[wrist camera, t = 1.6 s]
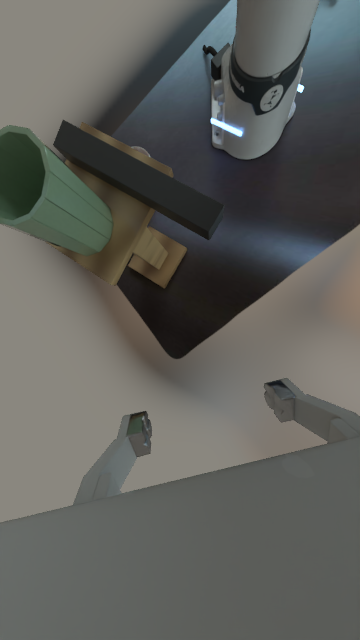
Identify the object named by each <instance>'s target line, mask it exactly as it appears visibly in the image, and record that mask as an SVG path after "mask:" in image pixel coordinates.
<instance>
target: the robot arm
mask: <svg viewBox="0 0 360 640" xmlns="http://www.w3.org/2000/svg"><path fill="white" fill-rule="evenodd" d="M319 2H320V0H237V18H236V34H235V37H234V41H233V44H232V45H231V46H230V44H229V43H227V44H226V45H225V46H224V47H223V48H222V49H221V50H220V51H219V52H218V53H217V52H216V50H215V49H214V48H213V47H211V46H208V47H207V48H206V46H205V45H204V46H203V51H204V53H205V54H206V55H207V54H208V53H211V54H212V55H213V56H214V57H213V58H212V59H211V76H212V78H213V79H212V81H211V116H212V118H211V123H212V145H213V146H214V147H215V148H218V149H223V150H225V151H226V152H228V153H229V154H230V155H232V156H233V157H236V158H239V159H253V158H257V157H259V156H261V155H263V154H265V153H266V152H268V151H269V150H270V149H271V148H272V147H273V146H274V145H275V144H276V143H277V141H278V140H279V138H280V136H281V134H282V131H283V129H284V127H285V125H286V123H287V122H288V121H289V120H290V119H291V117H292V116H293V114H294V112H295V109H296V105H295V103H294V99H295V95H296V92H297V91H299V92H302V91H303V88H304V86H302V85H300V84H299V83H300V79H301V76H302V72H303V68H302V67H301V64H302V62H303V59H304V56H305V53H306V50H307V45H308V42H309V38H310V31H311V25H312V23H313V20H314V17H315V14H316V11H317V8H318V5H319ZM216 135H218V136H216ZM264 388H265V390H266V392H265V394H264V395H265V400H266V402H267V404H268V406H269V407H270V408H271V409H273V410H274V414H275V415H276V417H277V418H278V419H279V421H280V422H286V421H291V420H295V421H296V422H297V423H299V424H301V425H302V426H304V427H305V428H307V429H309V430H310V431H312V432H313V433H315V434H317V435H318V436H320V437H321V438H323V439H325V440H326V441H328V443H327V444H324V445H320V446H316V447H312V448H308V449H304V450H300V451H295V452H291V453H287V454H283V455H279V456H275V457H271V458H266V459H263V460H259V461H254V462H250V463H246V464H242V465H238V466H233V467H230V468H225V469H221V470H217V471H213V472H209V473H204V474H200V475H196V476H192V477H188V478H184V479H180V480H176V481H171V482H167V483H163V484H159V485H155V486H151V487H147V488H142V489H138V490H134V491H130V492H126V493H121V491H120V488H121V487H122V485H123V483H124V481H125V479H126V477H127V475H128V474H129V472H130V470H131V468H132V466H133V465H134V463H135V461H136V459H137V457H140V456H143V455H147V454H150V451H151V441H150V438H151V436H152V427H151V422H150V420H149V419H148V414H147V412H146V411H143V412H139V413H134V414H130V415H125V416H123V418H122V421H121V425H120V429H119V433H118V436H117V439H115V440H114V441H113V442H112V443H111V445H110V446H109V447H108V448H107V449H106V451H105V452H104V453H103V454H102V456H101V457H100V458H99V459H98V460H97V462H96V463H95V464H94V465H93V466H92V468H91V469H90V470H89V471H88V473H87V474H86V475H85V476H84V477H83V480H82V482H81V485H80V488H79V490H78V493H77V496H76V498H75V501H74V504H73V505H72V506H68V507H64V508H60V509H56V510H52V511H47V512H43V513H39V514H35V515H31V516H27V517H23V518H19V519H14V520H9V521H5V522H2V523H0V640H360V416H358V415H357V414H356V413H354V412H352V411H349V410H346V409H344V408H341V407H339V406H336V405H334V404H331V403H329V402H326V401H324V400H321V399H318V398H316V397H313V396H311V395H308V394H307V395H305V394H304V393H303V392H302V391H301V390H300V389H299V388H298V387H296V386H295V385H294V384H293V383H292V382H291V381H290V380H289V379H288V378H284V379H280V380H276V381H272V382H268V383H265V384H264Z"/></svg>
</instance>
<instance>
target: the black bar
mask: <svg viewBox="0 0 360 640" xmlns="http://www.w3.org/2000/svg"><path fill="white" fill-rule="evenodd" d="M53 145H54V147H55V148H57V150H58V151H59V152H60V153H62V154H63V156H64V157H65V158H66V159H67V160H68V161H70V162H71V163H73V164H75V165H77V166H78V167H80V168H82V169H84V170H86V171H87V172H89V173H91V174H93V175H94V176H96V177H98V178H100V179H101V180H103V181H105V182H107V183H108V184H110V185H112V186H114V187H116V188H117V189H119V190H121V191H123V192H124V193H126V194H128V195H130V196H131V197H133V198H135V199H137V200H138V201H140V202H142V203H144V204H146V205H147V206H149V207H151V208H153V209H154V210H156V211H158V212H160V213H161V214H163V215H165V216H167V217H168V218H170V219H172V220H174V221H175V222H177V223H179V224H181V225H183V226H184V227H186V228H188V229H190V230H191V231H193V232H195V233H197V234H198V235H200V236H202V237H204V238H205V239H207V240H210V238H211V237H212V235H213V233H214V232H215V230H216V228H217V227H218V225H219V223H220V222H221V220H222V218H223V213H224V205H223V204H221V203H219V202H217V201H215V200H213V199H211V198H209V197H208V196H206V195H204V194H202V193H200V192H198V191H196V190H194V189H193V188H191V187H189V186H187V185H185V184H183V183H181V182H179V181H177V180H176V179H174V178H172V177H170V176H168V175H166V174H164V173H162V172H161V171H159V170H157V169H155V168H153V167H151V166H149V165H147V164H145V163H144V162H142V161H140V160H138V159H136V158H134V157H132V156H130V155H129V154H127V153H125V152H123V151H121V150H119V149H117V148H115V147H113V146H112V145H110V144H108V143H106V142H104V141H102V140H100V139H98V138H97V137H95V136H93V135H91V134H89V133H87V132H85V131H83V130H81V129H80V128H77V127H76V126H74V125H72V124H70V123H68V122H66V121H65V120H63V121H62V124H61V126H60V129H59V131H58V134H57V137H56V139H55V141H54V144H53Z"/></svg>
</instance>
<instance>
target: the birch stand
mask: <svg viewBox="0 0 360 640" xmlns="http://www.w3.org/2000/svg"><path fill="white" fill-rule="evenodd" d="M80 129H81V130H83V131H85V132H87V133H89V134H91V135H93V136H95V137H97V138H98V139H100V140H102V141H104V142H106V143H108V144H110V145H112V146H113V147H115V148H117V149H119V150H121V151H123V152H125V153H127V154H129V155H130V156H132V157H134V158H136V159H138V160H140V161H142V162H144V163H145V164H147V165H149V166H151V167H153V168H155V169H157V170H159V171H161V172H162V173H164V174H166V175H168V176H170V177H172V178H173V173H172V169H171V168H169V167H167V166H165V165H164V164H162V163H160V162H158V161H156V160H154V159H152V158H150V157H148V156H146V155H144V154H143V153H141V152H139V151H137V150H135V149H133V148H131V147H129V146H127V145H125V144H123V143H122V142H120V141H118V140H116V139H114V138H112V137H110V136H108V135H106V134H104V133H102V132H100V131H99V130H97V129H95V128H93V127H91V126H89V125H87V124H85V123H83V122H82V124H81V126H80ZM65 164H66V165H67V166H68V167H69V168H70V169H71V170H72V171H73V172H74V173H75V174H76V175H77V176H79V177H80V178H81V179H82V180H83V181H84V182H85V183H86V184H87V185H88V186H89V187H90V188H91V189H92V190H93V191H94V192H95V193H96V194H97V195H98V196H99V197H100V198H101V199H102V200H103V201H104V202H105V203H106V204H107V205H108V206H109V208H110V210H111V214H112V219H113V223H114V225H113V230H112V234H111V238H110V241H109V242H108V243H107V244H106V246H105V247H104V248H103V249H102V250H101V251H100V252H99V253H96V254H93V255H90V256H84V255H80V254H77V253H74V252H71V251H68V250H66V249H63V248H61V247H58V246H56V245H53V244H51V243H48V242H46V243H48V244H49V245H51V246H52V247H54V248H55V249H57V250H59V251H60V252H62V253H63V254H65V255H66V256H68V257H69V258H71V259H72V260H74V261H75V262H77V263H78V264H80V265H81V266H83V267H84V268H86V269H87V270H89V271H90V272H92V273H94V274H95V275H97V276H98V277H100V278H101V279H103V280H104V281H106V282H107V283H109V284H110V285H114V286H115V285H116V284H117V282H118V280H119V278H120V276H121V274H122V272H123V270H124V268H125V267H126V265H127V263H128V261H129V259H130V257H131V255H132V253H133V254H134V256H133V258H132V260H131V262H130V263H129V265H128V266H129V267H131V268H133V269H134V270H136V271H137V272H139V273H140V274H142V275H144V276H145V277H147V278H148V279H150V280H152V281H153V282H155V283H156V284H158V285H160V286H161V287H163V288H166V286H167V284H168V282H169V281H170V279H171V277H172V275H173V274H174V272H175V270H176V269H177V267H178V265H179V263H180V262H181V260H182V258H183V257H184V255H185V253H186V251H187V248H186V247H184V246H182V245H181V244H179V243H177V242H176V241H174V240H172V239H170V238H169V237H167V236H165V235H164V234H162V233H160V232H158V231H157V230H155V229H153V228H152V227H150V226H149V228H147V225H148V223H149V221H150V219H151V217H152V215H153V214H154V212H155V210H154V209H153V208H151V207H149V206H147V205H146V204H144V203H142V202H140V201H138V200H137V199H135V198H133V197H131V196H130V195H128V194H126V193H124V192H123V191H121V190H119V189H117V188H116V187H114V186H112V185H110V184H108V183H107V182H105V181H103V180H101V179H100V178H98V177H96V176H94V175H93V174H91V173H89V172H87V171H86V170H84V169H82V168H80V167H78V166H77V165H75V164H73V163H71V162H70V161H68V160H66V162H65Z"/></svg>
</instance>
